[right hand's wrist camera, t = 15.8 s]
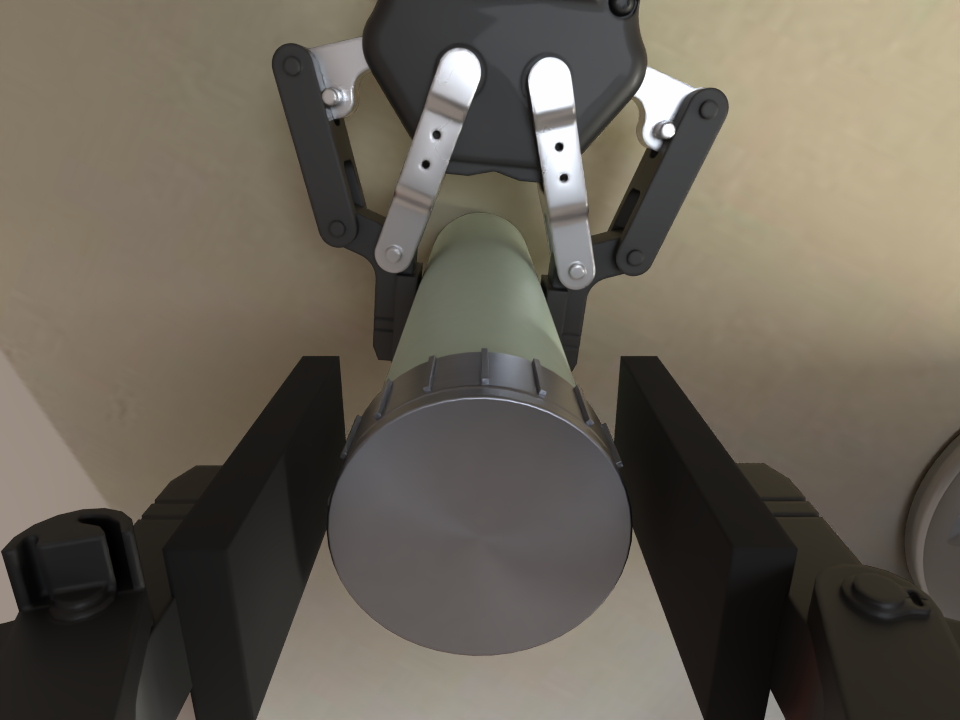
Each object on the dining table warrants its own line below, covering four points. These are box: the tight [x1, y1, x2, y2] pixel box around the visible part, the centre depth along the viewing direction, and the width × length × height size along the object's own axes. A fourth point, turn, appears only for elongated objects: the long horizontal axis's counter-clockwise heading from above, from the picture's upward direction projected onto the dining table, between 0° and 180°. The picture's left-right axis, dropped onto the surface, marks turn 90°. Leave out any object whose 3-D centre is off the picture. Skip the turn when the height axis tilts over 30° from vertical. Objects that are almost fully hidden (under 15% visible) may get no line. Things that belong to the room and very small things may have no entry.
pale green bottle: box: [386, 213, 576, 387], centre depth 20 cm, size 4×4×19 cm
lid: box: [327, 348, 633, 656], centre depth 11 cm, size 5×5×2 cm
